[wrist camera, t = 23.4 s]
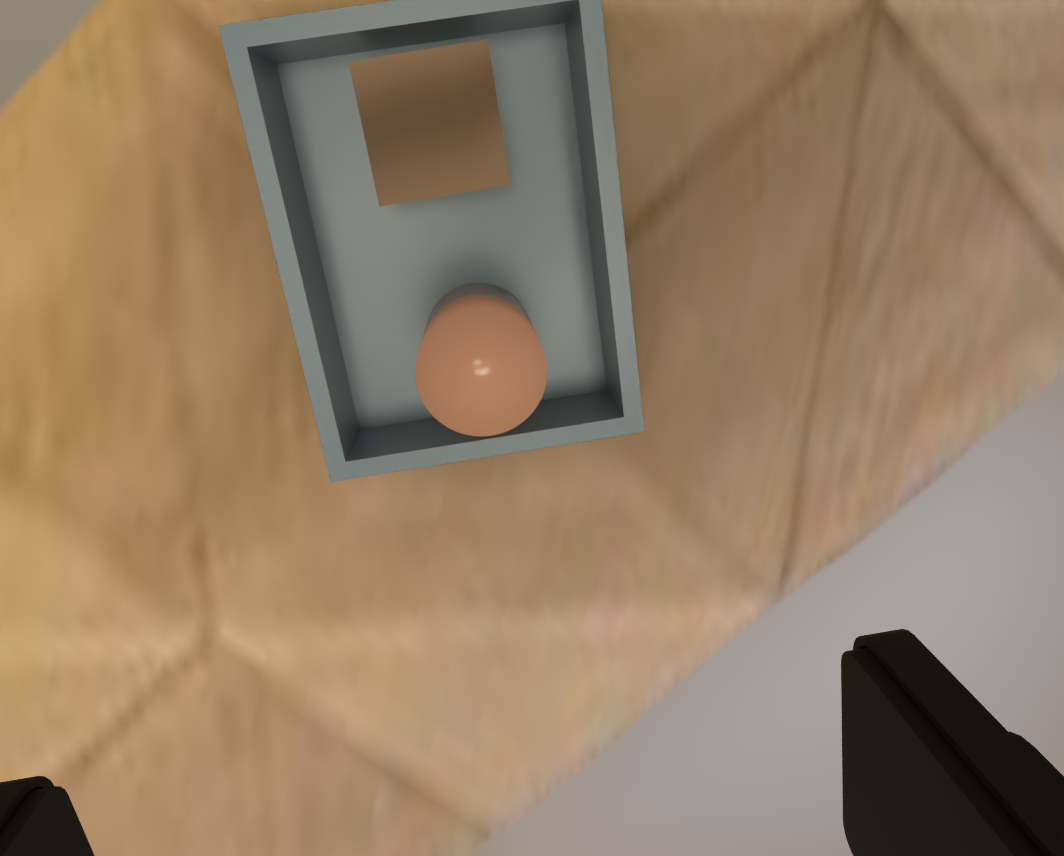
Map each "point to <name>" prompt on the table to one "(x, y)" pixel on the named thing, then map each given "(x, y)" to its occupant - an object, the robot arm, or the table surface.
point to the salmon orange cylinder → (480, 361)
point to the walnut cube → (431, 122)
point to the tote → (442, 224)
